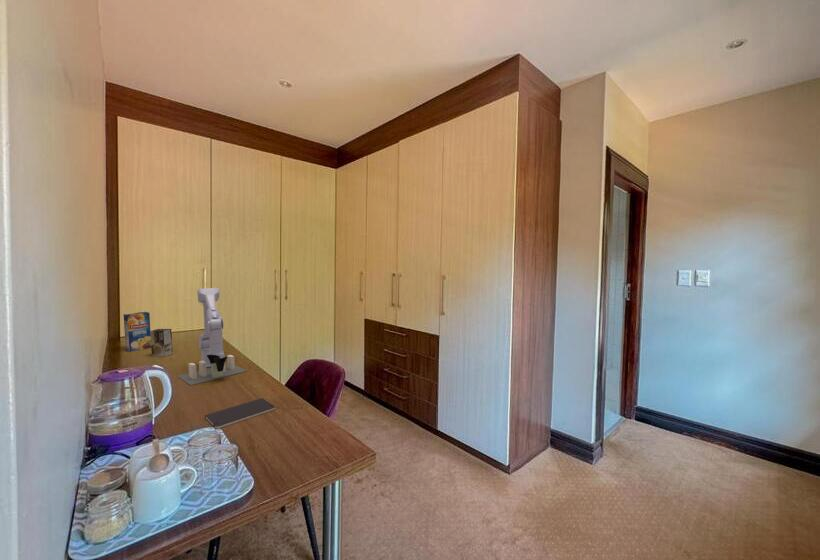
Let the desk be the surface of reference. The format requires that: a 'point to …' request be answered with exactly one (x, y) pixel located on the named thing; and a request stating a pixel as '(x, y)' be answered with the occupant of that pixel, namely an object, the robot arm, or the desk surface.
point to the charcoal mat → (209, 375)
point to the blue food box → (137, 331)
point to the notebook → (239, 413)
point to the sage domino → (215, 371)
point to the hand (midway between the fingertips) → (217, 369)
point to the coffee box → (161, 342)
